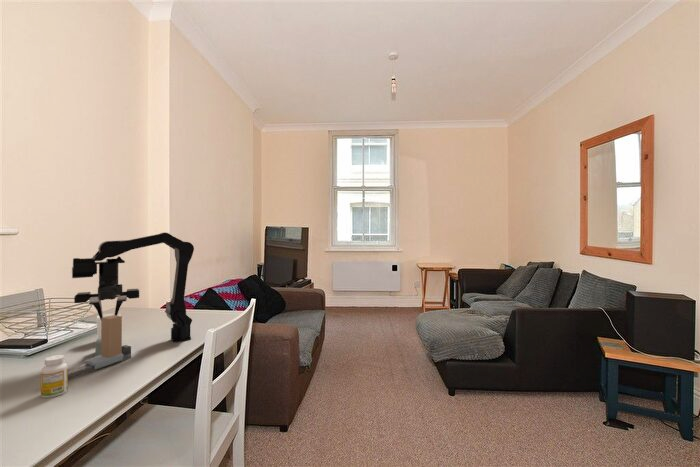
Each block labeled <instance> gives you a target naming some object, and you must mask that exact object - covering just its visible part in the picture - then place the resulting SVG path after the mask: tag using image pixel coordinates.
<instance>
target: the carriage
mask: <svg viewBox="0 0 700 467" xmlns="http://www.w3.org/2000/svg"><path fill="white" fill-rule="evenodd" d="M122 319H123V316H116V315H112V316H108V317H103V318H101V355H100V356H97V357H95V356H94V357H90V358H87V359H85V360H84V365H87V364H89V365H93V366H94V369H97V368H100V367H103V366H106V365H109V364H112V363H115V362H117V361H120V360H123V354H122V346H123V345H122V344H123V342H122V341H123V340H122V339H123V338H122V337H123V336H122V335H123V333H122V331H123V329H122V328H123V325H122V324H123V320H122ZM123 361H124V360H123ZM120 362H121V361H120ZM117 363H118V362H117ZM115 364H116V363H115ZM112 365H113V364H112ZM109 366H110V365H109ZM106 367H107V366H106ZM103 368H104V367H103ZM100 369H101V368H100ZM97 370H98V369H97Z"/></svg>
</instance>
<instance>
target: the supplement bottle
mask: <svg viewBox="0 0 700 467" xmlns="http://www.w3.org/2000/svg"><path fill="white" fill-rule="evenodd" d="M68 368H69V367H68V364H67V363H66V362H65V355H64V354H58V355H55V354H54V355H52V356H48V357H45V358H44V366H42V368H41V370H40V397H41V398H44V399H49V398H54V397H55V398H56V397H58V396H62V395H63V394H65V393H66V392H68V390H69V389H68V386H69V385H68V381H69V379H68Z"/></svg>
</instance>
